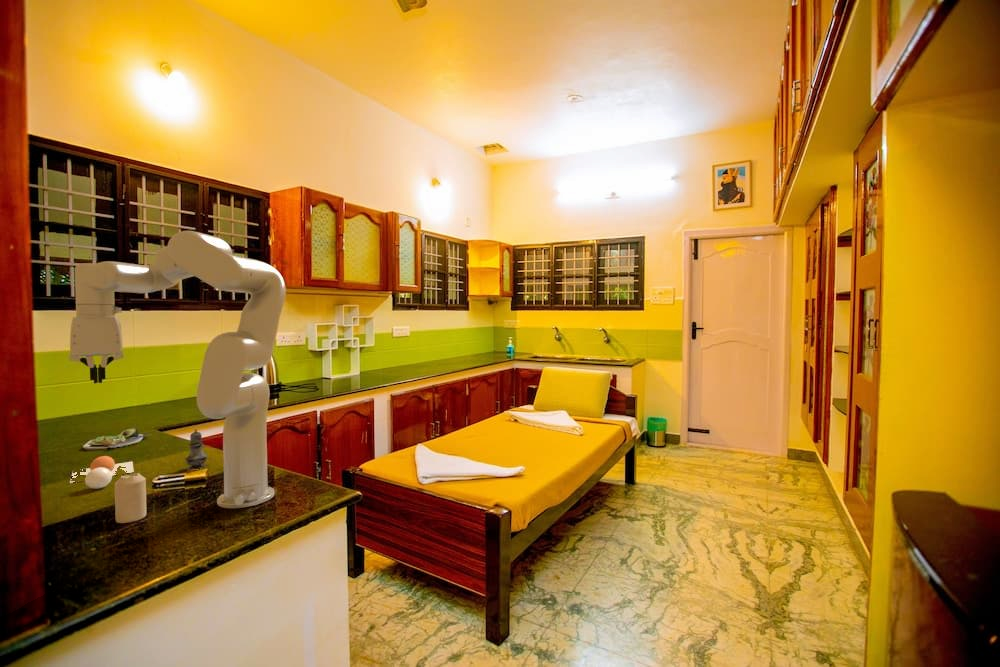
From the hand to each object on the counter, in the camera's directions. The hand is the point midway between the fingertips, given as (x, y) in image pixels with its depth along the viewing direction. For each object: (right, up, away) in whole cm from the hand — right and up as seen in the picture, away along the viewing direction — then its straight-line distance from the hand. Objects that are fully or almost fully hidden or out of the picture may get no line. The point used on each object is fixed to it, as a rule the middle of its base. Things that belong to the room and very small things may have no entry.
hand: (98, 382), depth 119 cm
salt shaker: (+11, -29, +22) cm, 38 cm away
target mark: (-15, -29, +18) cm, 37 cm away
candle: (+20, -30, -15) cm, 39 cm away
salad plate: (-38, -29, +52) cm, 71 cm away
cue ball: (-4, -26, +5) cm, 27 cm away
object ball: (-12, -26, +16) cm, 33 cm away
